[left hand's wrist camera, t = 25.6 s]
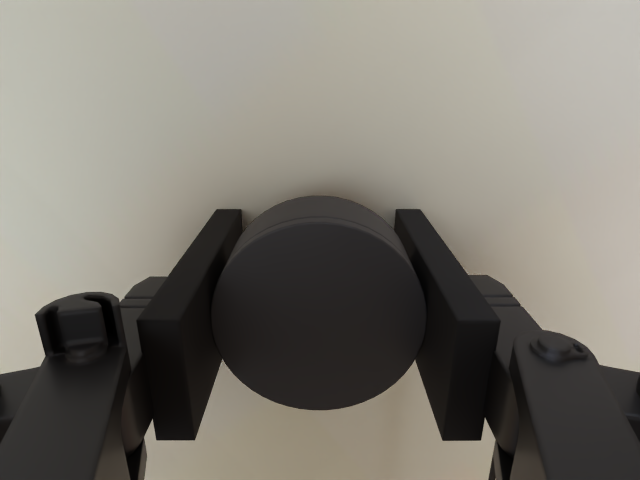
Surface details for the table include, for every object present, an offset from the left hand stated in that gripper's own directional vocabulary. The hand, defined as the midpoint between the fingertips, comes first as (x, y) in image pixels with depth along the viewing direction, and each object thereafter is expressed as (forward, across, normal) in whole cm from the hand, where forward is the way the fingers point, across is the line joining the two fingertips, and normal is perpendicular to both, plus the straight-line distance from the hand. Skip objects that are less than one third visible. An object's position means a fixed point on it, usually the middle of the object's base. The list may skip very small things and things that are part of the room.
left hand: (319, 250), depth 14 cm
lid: (-4, 0, 0) cm, 4 cm away
